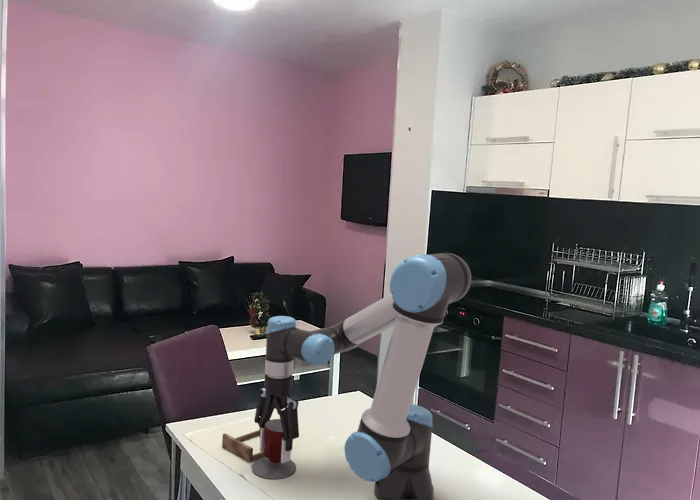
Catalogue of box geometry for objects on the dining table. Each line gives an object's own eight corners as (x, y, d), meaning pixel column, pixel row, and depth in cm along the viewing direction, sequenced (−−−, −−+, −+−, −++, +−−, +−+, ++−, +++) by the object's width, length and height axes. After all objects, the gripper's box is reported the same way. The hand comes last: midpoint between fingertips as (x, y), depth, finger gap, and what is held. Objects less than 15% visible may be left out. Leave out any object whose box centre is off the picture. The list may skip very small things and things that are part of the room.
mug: (281, 474, 150) (284, 438, 148) (252, 467, 151) (256, 432, 150) (295, 456, 160) (298, 422, 158) (268, 450, 162) (271, 416, 160)
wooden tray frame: (292, 446, 170) (292, 433, 170) (249, 463, 158) (250, 449, 158) (264, 432, 178) (265, 420, 178) (222, 447, 166) (222, 434, 166)
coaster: (305, 469, 156) (305, 467, 156) (271, 484, 147) (271, 482, 147) (275, 454, 164) (276, 452, 164) (242, 467, 155) (242, 465, 155)
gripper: (316, 381, 149) (311, 465, 151) (264, 362, 163) (260, 439, 165) (295, 387, 144) (290, 474, 146) (243, 367, 157) (239, 446, 160)
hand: (274, 455), depth 155 cm, fingers closed on mug, 8 cm apart
